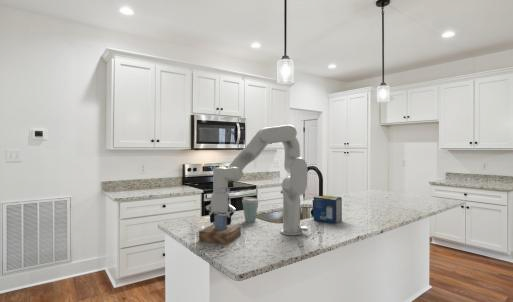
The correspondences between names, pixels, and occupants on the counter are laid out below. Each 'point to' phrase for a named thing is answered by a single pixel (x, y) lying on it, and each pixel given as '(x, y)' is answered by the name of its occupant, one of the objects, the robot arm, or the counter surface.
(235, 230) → the socket block
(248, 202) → the disposable coffee cup
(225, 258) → the counter surface
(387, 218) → the counter surface
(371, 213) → the counter surface
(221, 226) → the peg
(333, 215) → the protein box
